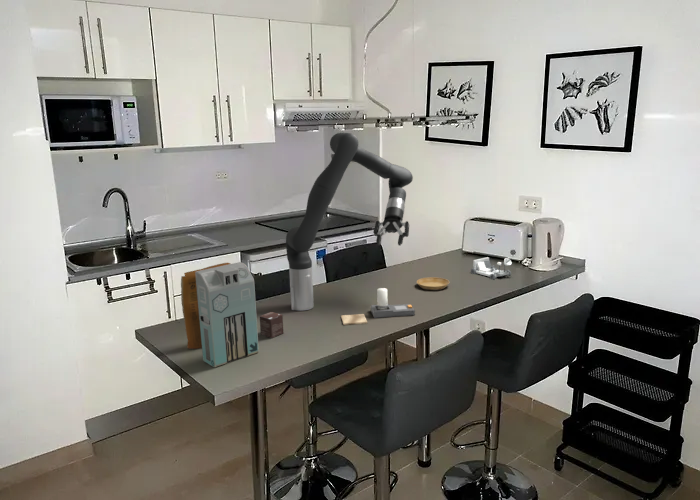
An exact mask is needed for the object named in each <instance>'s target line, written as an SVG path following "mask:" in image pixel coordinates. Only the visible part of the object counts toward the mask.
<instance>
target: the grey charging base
mask: <svg viewBox="0 0 700 500" xmlns="http://www.w3.org/2000/svg"><path fill="white" fill-rule="evenodd" d="M370 312H371V315H372V316H373V319H376V318H391V317H407V316H415V315H416V314H415V313H416V310H415V308H414V307H413V306H412V304H410V303H405V304H404V303H403V304H390V303H388V310H377V304H370Z"/></svg>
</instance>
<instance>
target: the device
mask: <svg viewBox="0 0 700 500" xmlns="http://www.w3.org/2000/svg"><path fill="white" fill-rule="evenodd" d="M195 275H196V286H197V297H198V308H199V319H200V330H201V341H202V348H201V350H202V361H203V362H204V363H206V364H208V365H209V366H211V367H213V368H217V367H220V366H222V365H223V366H224V365H226V364H229V363H231V362H235V361H238V360H240V359H242V358H246V357H248V356H252V355H255V354H257V353H259V350H260V348H259V337H258V336H259V335H258V334H259V333H258V321H257V320H258V319H257V306H256V291H255V289H256V288H255V279H254V276H253V275H252V273H251V271H250V270H249V267H248V266H247V265H246V264H245V263H244V262H241V261H238V262H233V263H231V264H228V265H224V266H219V267H214V268H210V269H205V270H200V271H196V272H195Z"/></svg>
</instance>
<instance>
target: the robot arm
mask: <svg viewBox="0 0 700 500" xmlns="http://www.w3.org/2000/svg"><path fill="white" fill-rule="evenodd" d="M329 147H330V150H331V151H332V152H333V153H334V154H333V156H332V158H331V161H330V162H329V164H328V165H327V166H326V167H325V168H324V170H323V171H322V172H320V174H319V175H318V176H317V178H316V179H315V181H314V182H313V185H312V187H311V189H310V192H309V193H308V197H307V203H306V210H305V213H304V214H305V215H304V217H303V219H302V221H301V223H300V225H299V226H294V227H292V228H290V229H289V230H288V232H287V233H286V237H285V251H286V259H287V262H288V267H289V268H288V270H289V271H288V272H289V289H290V291H289V292H290V305H291V306H290V307H291V309H290V310H291V311H299V312H300V311H301V312H302V311H308V310H309V311H310V310H311V309H314V302H315V301H314V284H313V282H314V280H313V262H312V258H311V256H310V253H309V251H310V249H311V248H312V247H313V245H314V243H315V240H316V237H317V234H318V231H319V229H320V226H321V223H322V221H323V219H324V217H325V216H326V215H325V214H326V213H327V211H328V208H329V206H330V205H331V203H332V200H333V198H334V196H335V194H336V192H337V190H338V187H339V186H340V183H341V181H342V179H343V178H344V174H345V172H346V170H347V169H348V167H349V166H350V164H351V162H352V161H353V162H355V163H357V164H358V165H360V166H363V167H364V168H366V169H367V170H369V171H370V172H372V173H374V174H375V175H377V176H378V177H380V178H382V179H385V180H388V190H389V196H388V201H387V203H386V208H385V214H384V218H383V221H382V222H381V221H379V220H377V221H375V225H374V228H373V235H374V236H375V237H376V240H375V241H376V244H377V245H378V246H381V243H382V238H383V236H384V235H386V234H387V233H389V234H390V233H393V234H395V233H397V234H398V240H397V245H398V246H401V245H403V242H404V238H405V237H406V238H407V237H409V234H410V233H409V232H410V222H409V221H408V220H406V221H405V222H403V218H404V215H405V207H406V206H405V204H406V197H407V192H406V189H404V187H406V186H408V185H410V184H411V183H412V182H413V179H414V176H413V174H412V172H411V171H410V170H409V169H408V168H407V167H404V166H401V165H397V164H393V163H391V162H389V161H388V160H386V159H385V158H383V157H381V156H379V155H377V154H376V153H373V152H370V151H368V150H366V149H364V148H362V147H361V146H359V139H358V137H357V136H356V135H355V134H354V133H351V132H350V133H349V132H337V133H335V134H334V135H332V137H331V138H330V140H329ZM402 227H403V228H404V232H403V231H402V230H401V228H402Z"/></svg>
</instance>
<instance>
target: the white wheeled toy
mask: <svg viewBox="0 0 700 500" xmlns="http://www.w3.org/2000/svg"><path fill="white" fill-rule="evenodd" d="M472 262H473V263H472V268H471V269H470V273H471V274H472V275H475V274H478V275H482V276H484V277H485V276H487V277H489V279H490V280H493V281H494V280H496V278H498V277H503V276H508V277H510V276H511V275H512V272H511V270H510V269H507V270H506V266H511V265H512V263H513V262H512V260H511V259H510V258H508V257H505V258H504V260H503V262H500V261H498V262H497V263H496V265H498V267H495V266H496V265H492V264H491V261H490V257H488V256H487V257H482V258H478V259H473V261H472ZM503 265H504V268H503V269H504V270H501V269H500V268H501V266H503Z"/></svg>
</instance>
